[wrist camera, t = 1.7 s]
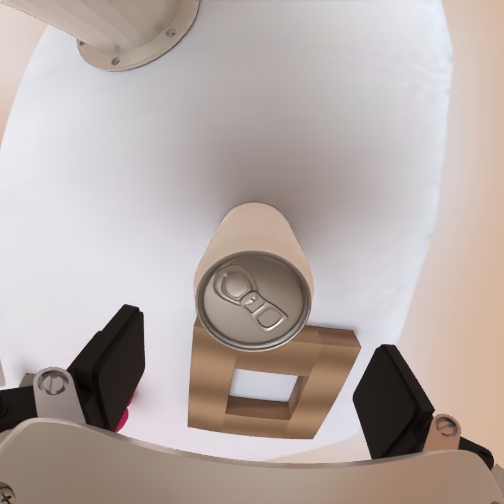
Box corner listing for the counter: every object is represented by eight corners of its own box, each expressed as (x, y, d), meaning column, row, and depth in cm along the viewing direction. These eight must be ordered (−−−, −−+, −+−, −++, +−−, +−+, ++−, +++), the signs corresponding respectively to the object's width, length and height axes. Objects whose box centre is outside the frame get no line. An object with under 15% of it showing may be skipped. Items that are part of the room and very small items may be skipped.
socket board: (199, 309, 27) (193, 326, 24) (353, 330, 28) (361, 347, 25) (191, 409, 32) (187, 426, 29) (309, 422, 33) (312, 439, 30)
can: (256, 185, 23) (256, 211, 12) (306, 239, 25) (345, 307, 13) (202, 236, 25) (160, 302, 13) (252, 286, 26) (250, 376, 15)
